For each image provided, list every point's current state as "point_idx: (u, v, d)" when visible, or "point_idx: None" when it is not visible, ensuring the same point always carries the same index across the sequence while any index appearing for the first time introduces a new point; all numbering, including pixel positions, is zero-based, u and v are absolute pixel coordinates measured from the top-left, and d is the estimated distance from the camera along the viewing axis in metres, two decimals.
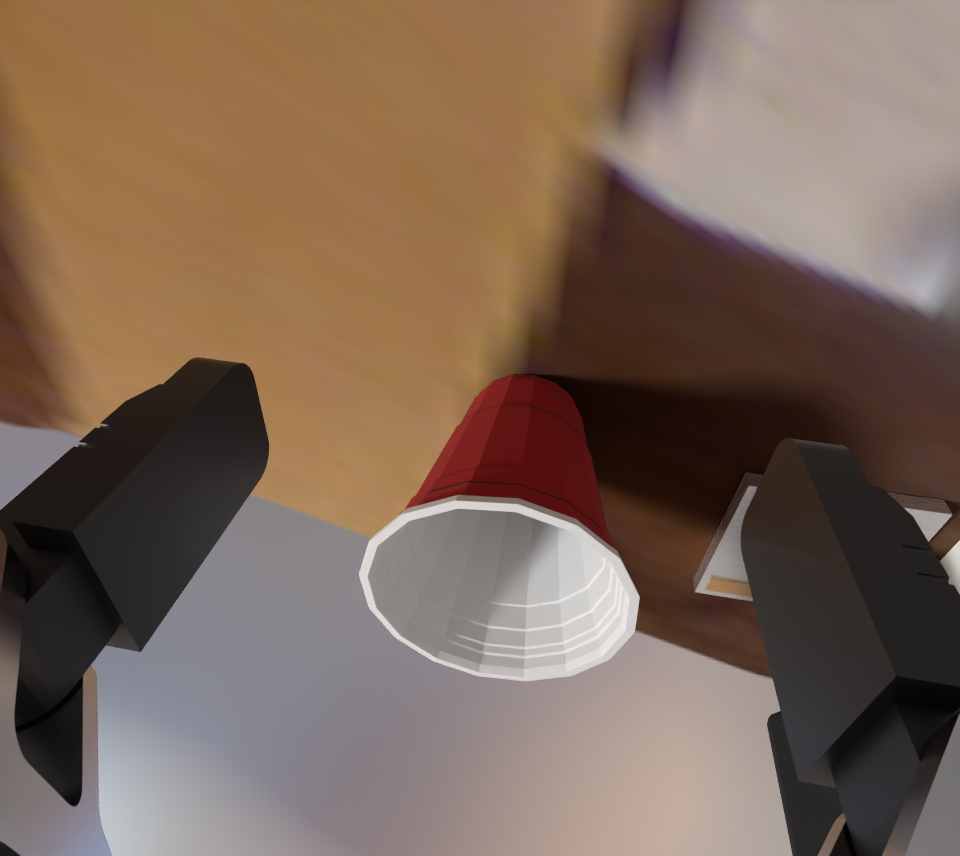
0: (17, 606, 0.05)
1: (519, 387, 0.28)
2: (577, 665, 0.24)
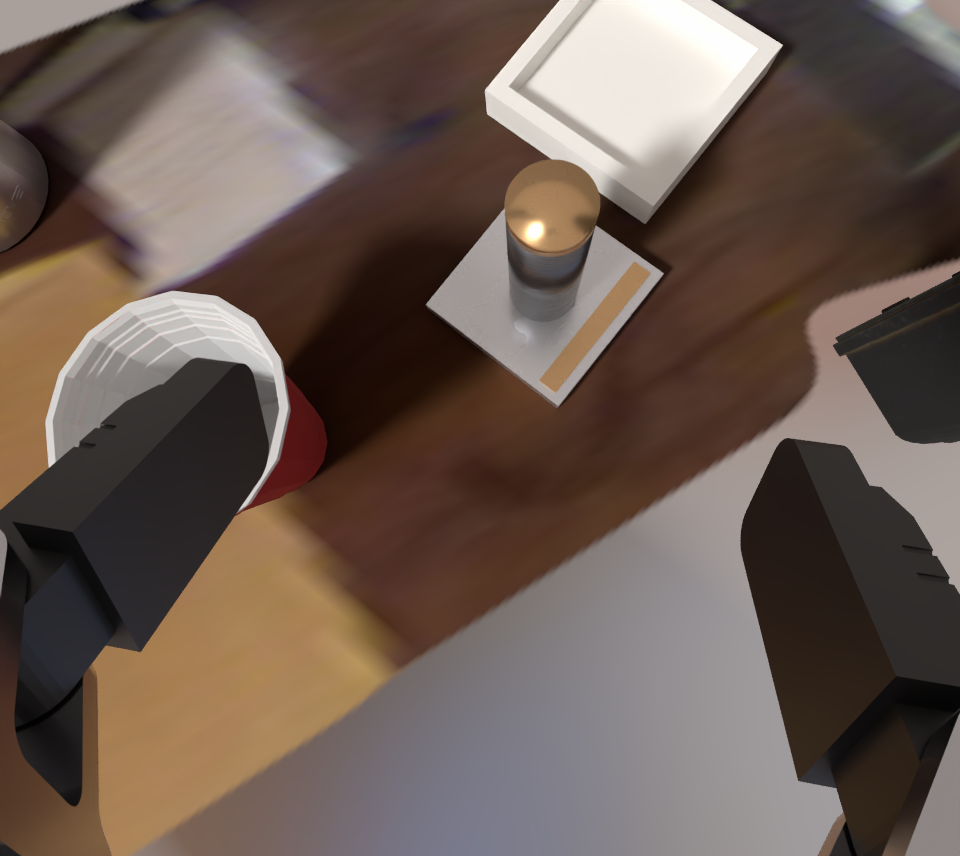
0: (17, 606, 0.05)
1: None
2: (278, 393, 0.23)
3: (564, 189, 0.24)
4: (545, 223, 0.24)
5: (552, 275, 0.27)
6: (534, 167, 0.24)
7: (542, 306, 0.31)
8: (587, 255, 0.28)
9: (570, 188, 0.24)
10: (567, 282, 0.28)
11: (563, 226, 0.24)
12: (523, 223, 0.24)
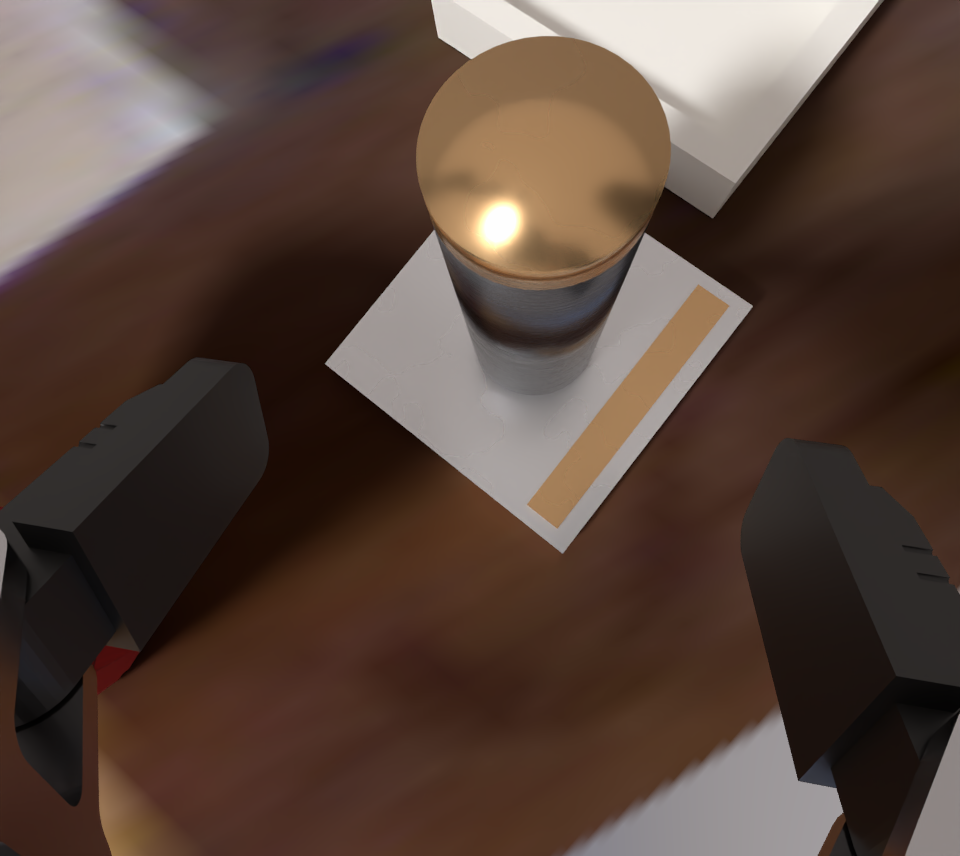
0: (17, 606, 0.05)
1: None
2: None
3: (574, 111, 0.09)
4: (523, 201, 0.09)
5: (545, 328, 0.12)
6: (494, 57, 0.09)
7: (529, 375, 0.16)
8: None
9: (590, 109, 0.09)
10: (580, 336, 0.13)
11: (572, 209, 0.09)
12: (465, 202, 0.09)
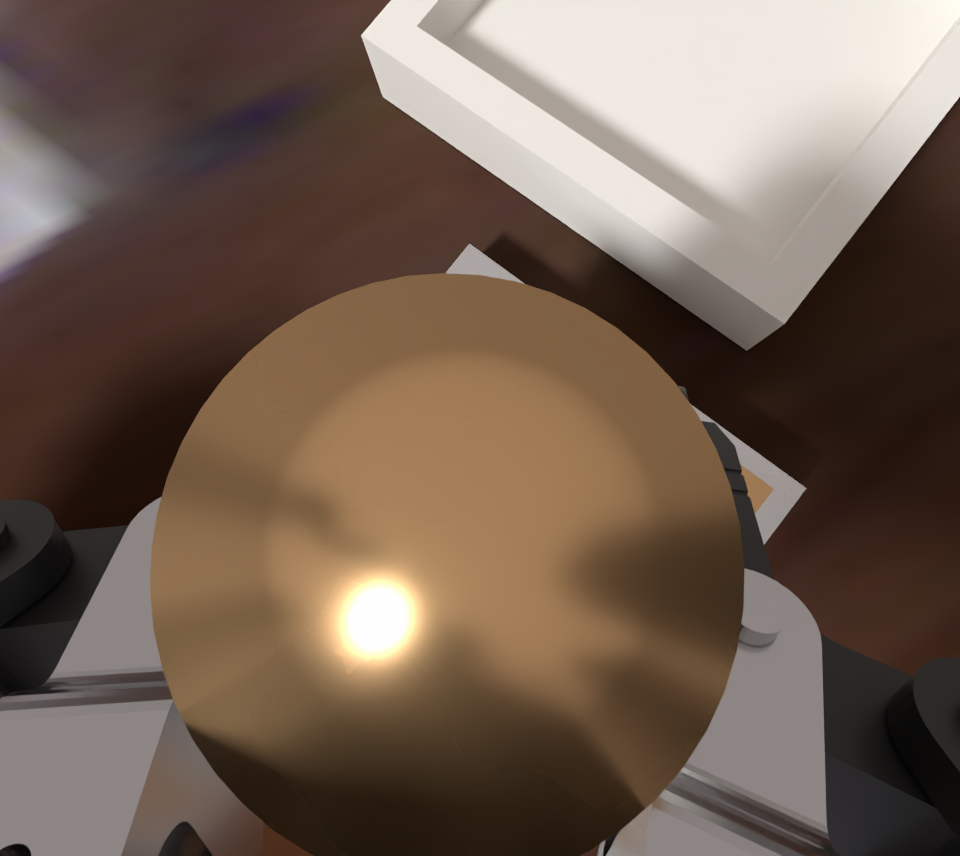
0: None
1: None
2: None
3: (513, 464, 0.04)
4: (390, 692, 0.04)
5: None
6: (336, 321, 0.04)
7: None
8: None
9: (550, 459, 0.04)
10: None
11: (504, 723, 0.04)
12: (254, 683, 0.04)
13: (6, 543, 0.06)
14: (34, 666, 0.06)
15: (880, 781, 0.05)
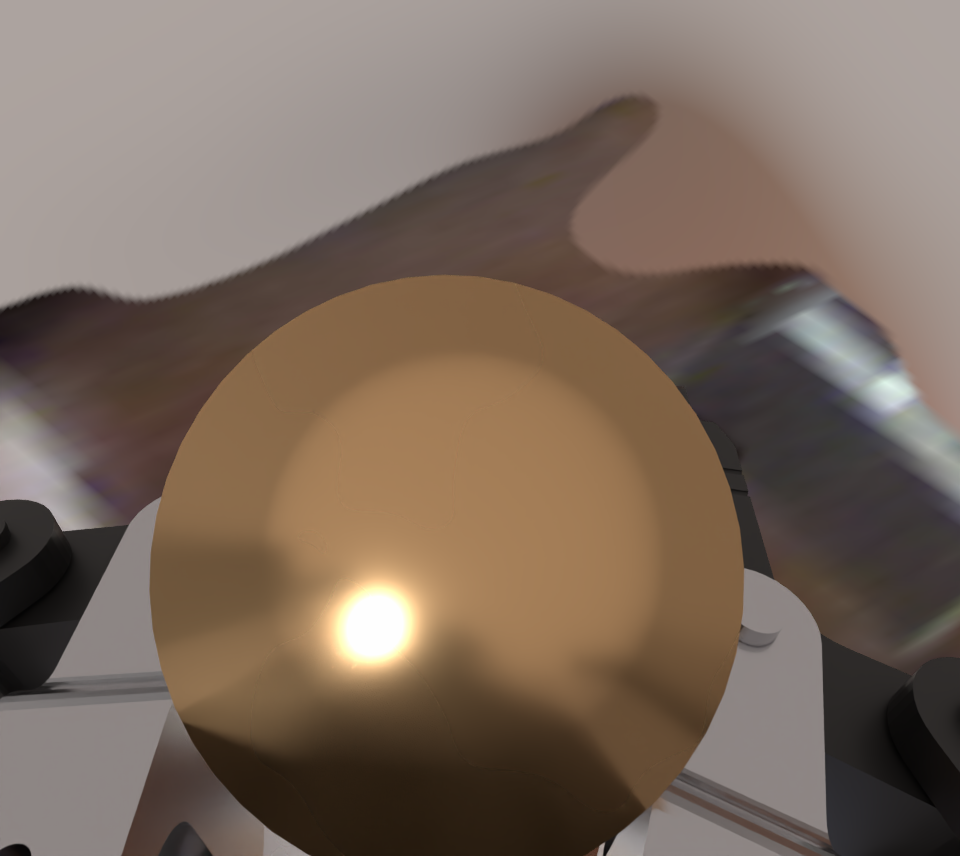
0: None
1: None
2: None
3: (512, 466, 0.04)
4: (389, 694, 0.04)
5: None
6: (336, 323, 0.04)
7: None
8: None
9: (550, 461, 0.04)
10: None
11: (503, 725, 0.04)
12: (254, 684, 0.04)
13: (6, 543, 0.06)
14: (34, 666, 0.06)
15: (880, 781, 0.05)
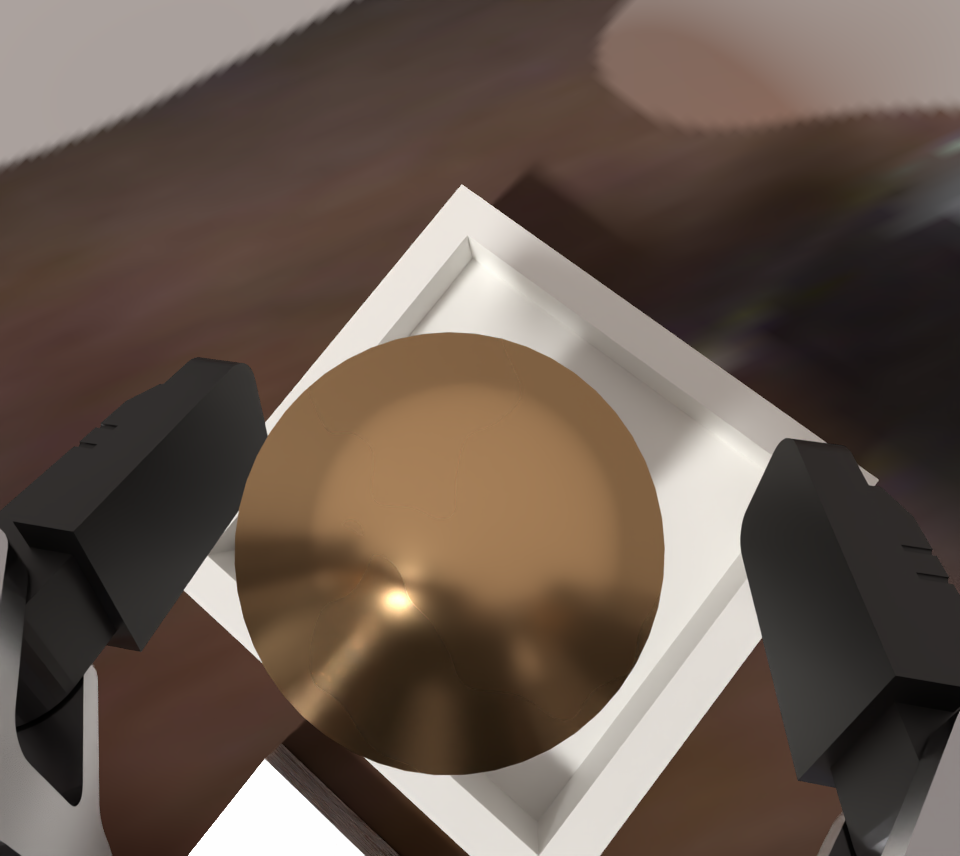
0: (17, 606, 0.05)
1: None
2: None
3: (499, 473, 0.05)
4: (409, 637, 0.05)
5: None
6: (370, 368, 0.06)
7: None
8: None
9: (526, 469, 0.05)
10: None
11: (491, 659, 0.05)
12: (311, 631, 0.05)
13: None
14: None
15: None
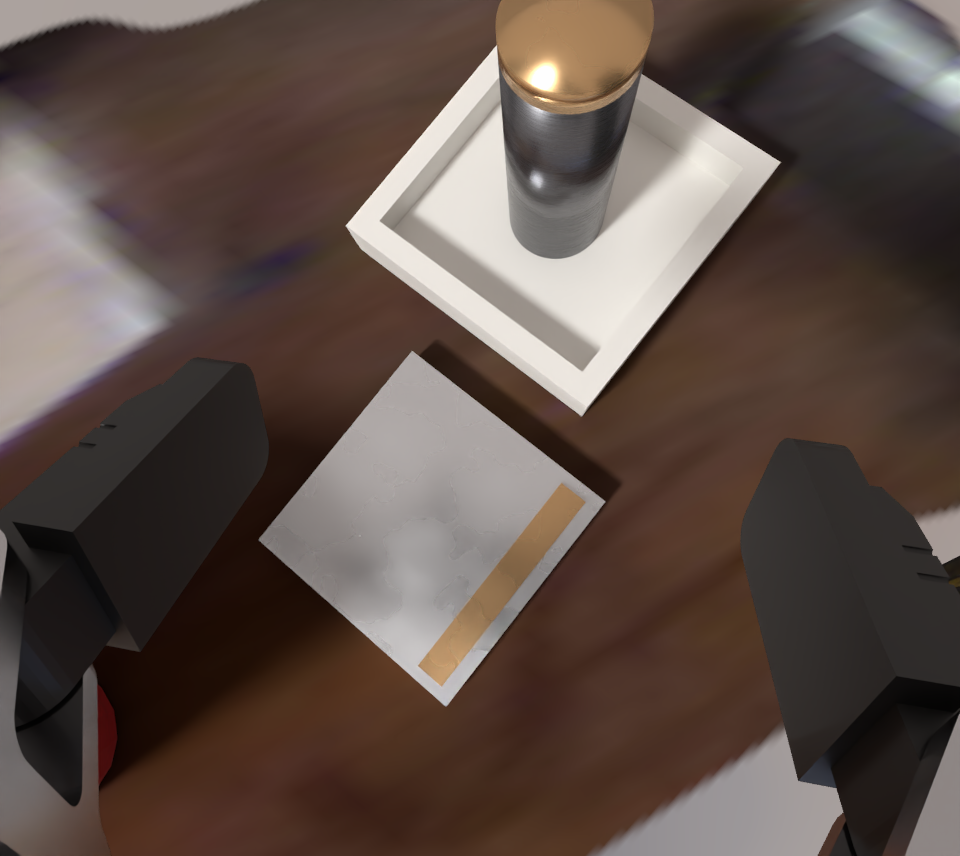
0: (17, 606, 0.05)
1: None
2: None
3: None
4: (562, 52, 0.15)
5: (571, 160, 0.17)
6: None
7: (555, 227, 0.22)
8: None
9: None
10: (594, 179, 0.19)
11: (592, 56, 0.15)
12: (526, 53, 0.15)
13: None
14: None
15: None
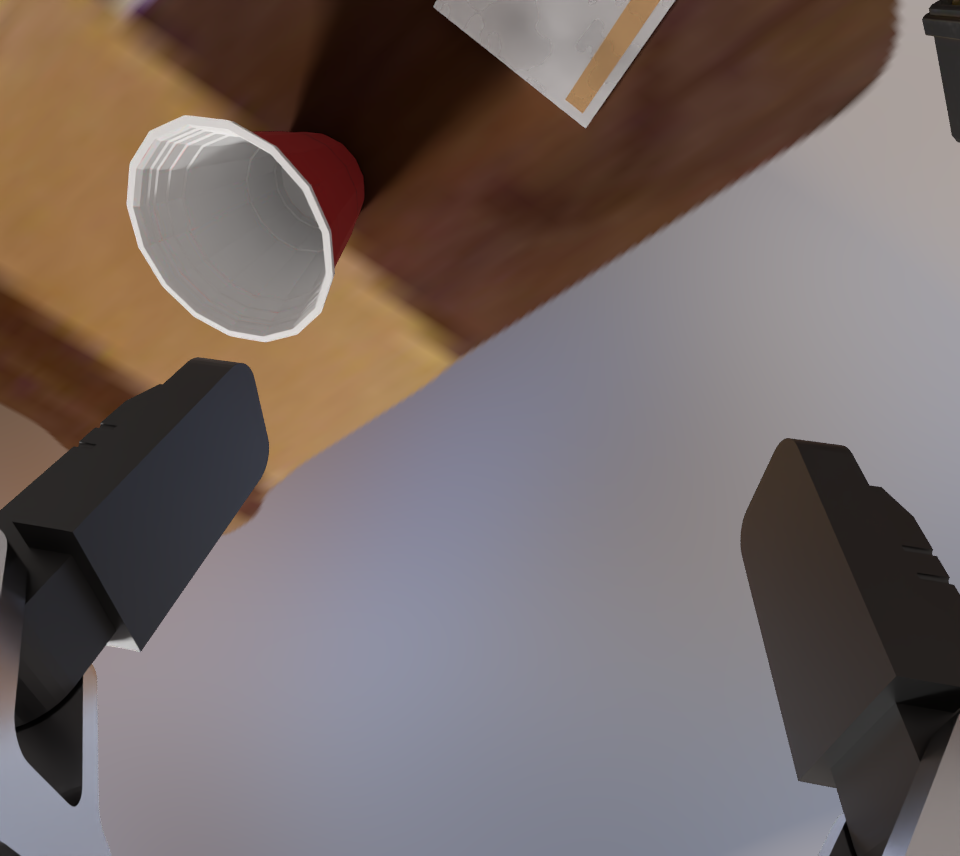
0: (17, 606, 0.05)
1: None
2: (317, 220, 0.27)
3: None
4: None
5: None
6: None
7: None
8: None
9: None
10: None
11: None
12: None
13: None
14: None
15: None
